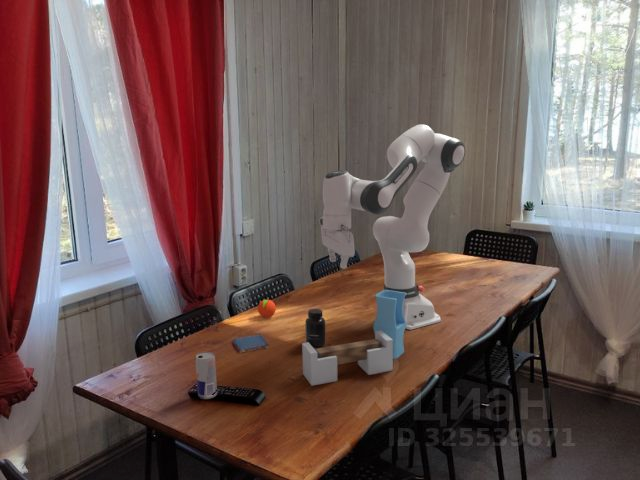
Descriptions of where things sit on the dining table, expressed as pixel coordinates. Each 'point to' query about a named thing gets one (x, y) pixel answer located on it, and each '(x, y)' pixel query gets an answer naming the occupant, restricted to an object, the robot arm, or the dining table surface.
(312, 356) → the post
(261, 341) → the woven mat
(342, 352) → the rail
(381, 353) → the post
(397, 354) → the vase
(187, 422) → the dining table surface
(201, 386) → the energy drink
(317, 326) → the supplement bottle
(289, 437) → the dining table surface
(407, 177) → the robot arm
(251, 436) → the dining table surface
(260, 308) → the clementine
